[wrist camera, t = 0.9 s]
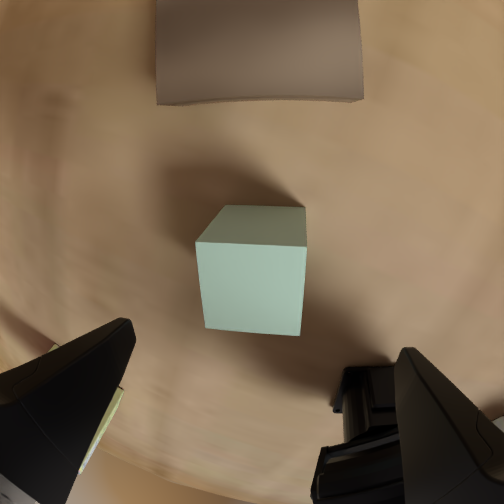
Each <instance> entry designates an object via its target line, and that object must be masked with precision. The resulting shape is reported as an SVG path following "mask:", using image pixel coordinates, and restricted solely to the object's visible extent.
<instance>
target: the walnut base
mask: <svg viewBox="0 0 504 504" xmlns="http://www.w3.org/2000/svg"><path fill="white" fill-rule="evenodd" d="M155 48H156V92H157V105H172V106H188V105H197V104H208V103H220V102H235V101H258V100H309V101H332V102H347V103H352V102H355V101H358V100H362V99H364V86H363V60H362V43H361V30H360V19H359V10H358V1H357V0H156V39H155Z"/></svg>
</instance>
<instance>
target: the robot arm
mask: <svg viewBox="0 0 504 504" xmlns="http://www.w3.org/2000/svg"><path fill="white" fill-rule="evenodd" d="M135 343H136V336H135V332H134V328H133V325H132V322H131V320H130V319H127V318H122V317H120V318H117V319H115V320H113V321H111V322H109V323H107V324H105V325H103V326H101V327H99V328H97V329H95V330H93V331H91V332H89V333H87V334H85V335H83V336H81V337H78V338H76V339H74V340H72V341H70V342H68V343H66V344H64V345H62V346H60V347H58V348H56V349H54V350H52V351H50V352H48V353H46V354H44V355H42V356H41V357H38V358H36V359H34V360H31V361H29V362H27V363H25V364H23V365H21V366H18V367H16V368H13V369H11V370H8V371H6V372H3V373H0V504H35V502H36V501H37V502H38V503H40V504H65V503H66V501H67V498H68V496H69V493H70V491H71V489H72V486H73V483H74V481H75V479H76V477H77V474H78V472H79V469H80V467H81V465H82V462H83V460H84V458H85V456H86V453H87V451H88V449H89V447H90V444H91V442H92V440H93V438H94V436H95V434H96V431H97V429H98V427H99V425H100V423H101V421H102V419H103V417H104V414H105V412H106V410H107V408H108V406H109V404H110V402H111V400H112V398H113V396H114V394H115V392H116V390H117V388H118V386H119V384H120V382H121V380H122V377H123V375H124V373H125V370H126V367H127V364H128V362H129V359H130V356H131V354H132V351H133V349H134V346H135ZM349 372H350V373H349ZM333 412H334V413H343V431H344V443H342V444H338V445H334V446H330V447H329V446H325V447H321V451H320V455H319V458H318V462H317V466H316V470H315V474H314V478H313V482H312V486H311V494H310V497H311V499H312V500H313V504H504V432H503V431H502V430H501V429H499V428H498V427H497V426H496V425H495V424H494V423H493V422H492V421H491V420H490V419H489V418H488V417H487V416H486V415H485V414H484V413H483V412H482V411H481V410H478V408H477V407H476V406H475V405H474V404H473V403H472V402H471V401H470V400H469V399H468V398H467V397H466V396H465V395H464V394H463V393H462V392H461V391H460V390H459V389H458V388H457V387H456V386H455V385H454V384H453V383H452V382H451V381H450V380H449V379H448V378H447V377H446V376H445V375H444V374H442V373H441V372H440V371H439V370H438V369H437V368H436V367H435V366H434V365H433V364H432V363H431V362H430V361H429V360H428V359H427V358H425V357H424V356H423V355H422V354H421V353H420V352H419V351H418V350H417V349H416V348H414V347H404V348H402V350H401V352H400V354H399V356H398V359H397V361H396V364H395V366H389V367H347V368H345V369H344V370H343V373H342V377H341V381H340V384H339V388H338V391H337V395H336V398H335V401H334V405H333Z"/></svg>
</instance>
